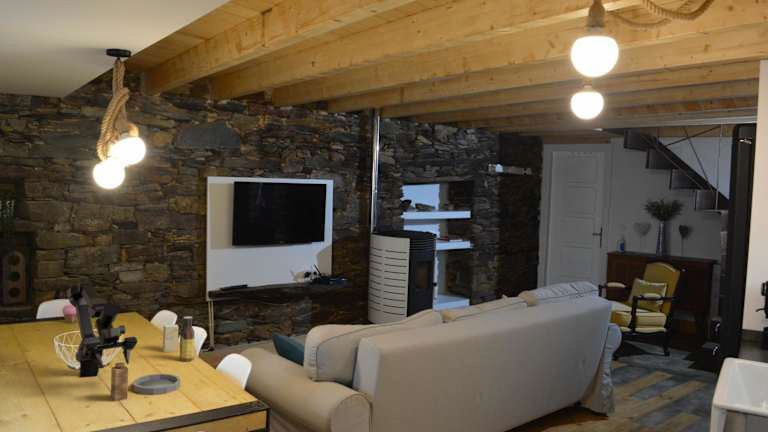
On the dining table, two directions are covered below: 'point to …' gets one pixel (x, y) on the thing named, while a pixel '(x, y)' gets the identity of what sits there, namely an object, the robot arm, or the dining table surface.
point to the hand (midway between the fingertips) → (115, 365)
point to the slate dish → (156, 384)
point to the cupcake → (70, 313)
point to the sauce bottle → (187, 340)
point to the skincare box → (170, 338)
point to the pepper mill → (119, 382)
